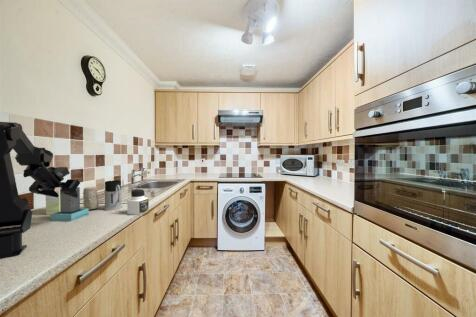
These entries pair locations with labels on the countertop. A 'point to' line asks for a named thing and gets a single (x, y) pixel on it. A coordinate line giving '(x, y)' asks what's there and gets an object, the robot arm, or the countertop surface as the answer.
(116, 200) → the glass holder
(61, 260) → the countertop surface
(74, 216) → the teal tray
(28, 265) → the countertop surface
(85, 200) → the carving
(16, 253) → the robot arm
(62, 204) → the tall grey square pillar
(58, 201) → the box
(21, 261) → the countertop surface
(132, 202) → the medicine bottle
